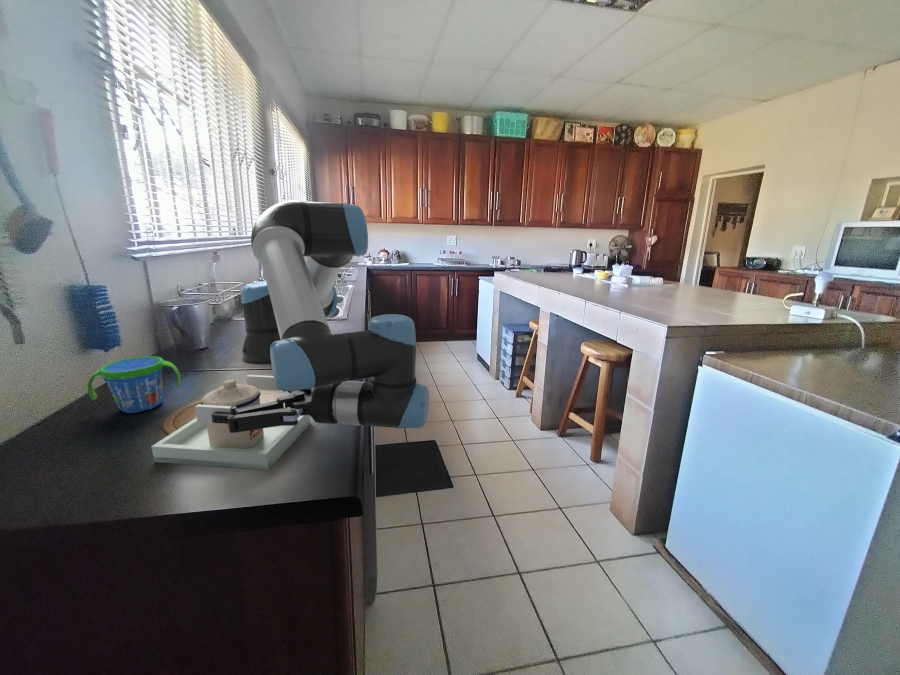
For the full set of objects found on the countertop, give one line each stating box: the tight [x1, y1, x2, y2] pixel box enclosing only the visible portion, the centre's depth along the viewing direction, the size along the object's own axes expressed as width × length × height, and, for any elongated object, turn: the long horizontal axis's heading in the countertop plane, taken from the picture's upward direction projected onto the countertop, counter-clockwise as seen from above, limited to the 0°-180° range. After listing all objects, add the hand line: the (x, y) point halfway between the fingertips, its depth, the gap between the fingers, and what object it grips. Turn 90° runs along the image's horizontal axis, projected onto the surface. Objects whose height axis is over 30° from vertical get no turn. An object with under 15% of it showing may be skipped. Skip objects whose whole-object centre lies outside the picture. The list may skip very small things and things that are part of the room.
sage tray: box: [150, 415, 311, 471], centre depth 70 cm, size 16×20×3 cm
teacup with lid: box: [200, 379, 264, 449], centre depth 68 cm, size 12×9×12 cm
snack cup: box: [87, 355, 182, 414], centre depth 82 cm, size 16×10×10 cm
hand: (225, 395), depth 68 cm, fingers open, 13 cm apart
